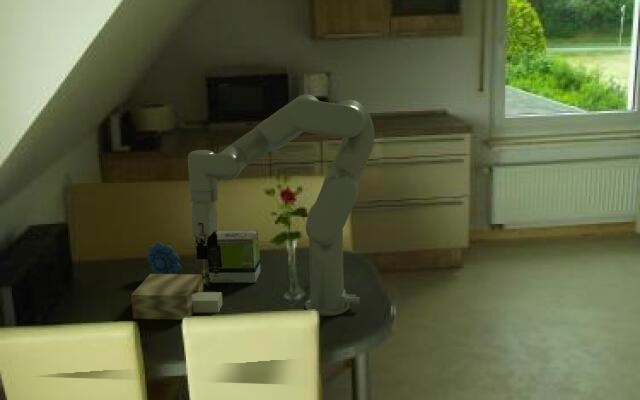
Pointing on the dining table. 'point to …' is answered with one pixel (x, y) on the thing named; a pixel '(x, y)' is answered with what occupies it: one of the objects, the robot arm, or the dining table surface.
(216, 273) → the tea box
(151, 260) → the grapes
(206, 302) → the cover board
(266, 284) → the dining table surface
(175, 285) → the oak box
